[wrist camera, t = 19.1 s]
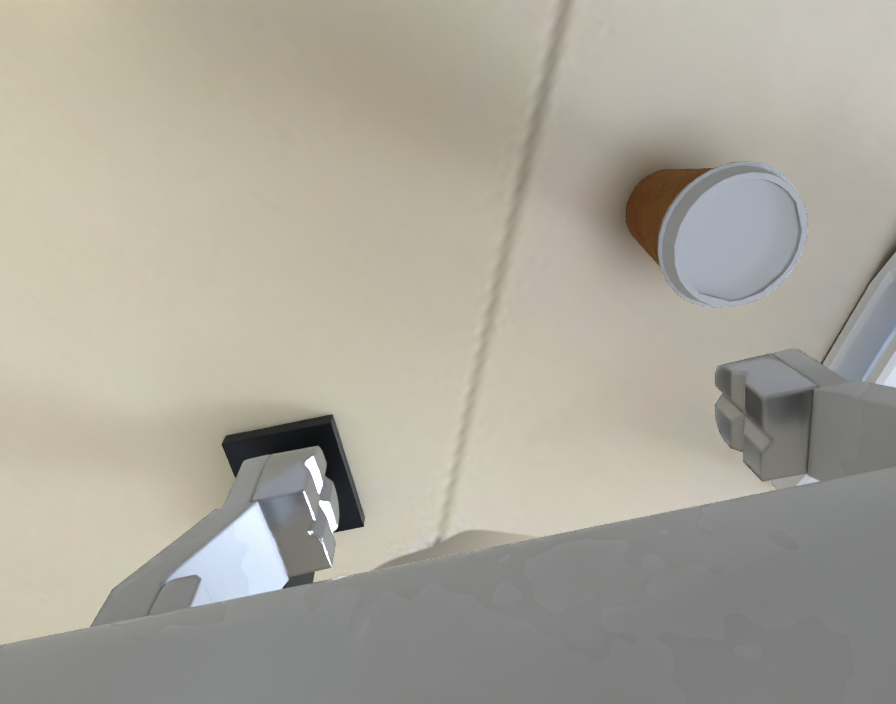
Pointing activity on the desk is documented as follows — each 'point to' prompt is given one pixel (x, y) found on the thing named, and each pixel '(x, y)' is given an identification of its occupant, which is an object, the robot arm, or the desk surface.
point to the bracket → (299, 438)
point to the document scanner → (864, 344)
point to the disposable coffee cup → (720, 230)
